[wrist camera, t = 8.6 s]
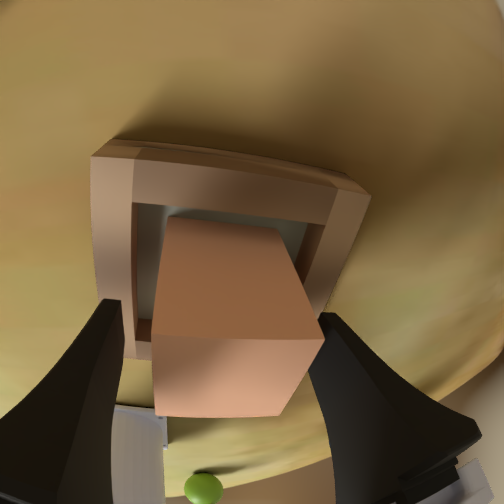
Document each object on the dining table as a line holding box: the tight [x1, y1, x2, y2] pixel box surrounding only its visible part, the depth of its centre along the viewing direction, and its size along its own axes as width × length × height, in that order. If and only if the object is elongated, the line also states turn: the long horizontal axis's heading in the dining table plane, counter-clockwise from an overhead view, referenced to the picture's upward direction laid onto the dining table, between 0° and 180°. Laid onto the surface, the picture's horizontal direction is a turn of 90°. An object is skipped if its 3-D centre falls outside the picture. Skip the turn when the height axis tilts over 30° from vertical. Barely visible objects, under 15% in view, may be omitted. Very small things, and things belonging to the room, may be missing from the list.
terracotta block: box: [151, 216, 325, 418], centre depth 11 cm, size 4×4×6 cm
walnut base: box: [90, 139, 372, 361], centre depth 13 cm, size 10×10×2 cm
